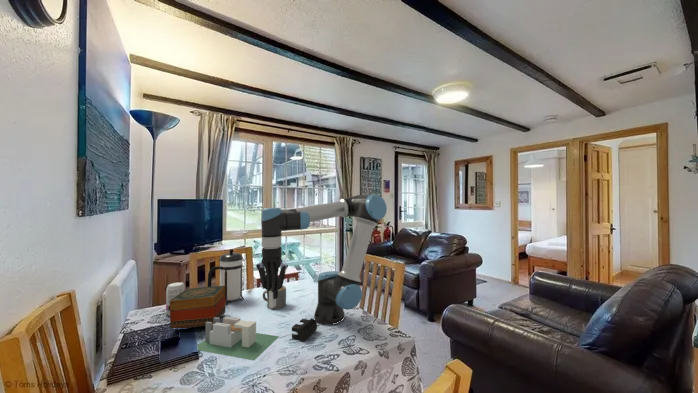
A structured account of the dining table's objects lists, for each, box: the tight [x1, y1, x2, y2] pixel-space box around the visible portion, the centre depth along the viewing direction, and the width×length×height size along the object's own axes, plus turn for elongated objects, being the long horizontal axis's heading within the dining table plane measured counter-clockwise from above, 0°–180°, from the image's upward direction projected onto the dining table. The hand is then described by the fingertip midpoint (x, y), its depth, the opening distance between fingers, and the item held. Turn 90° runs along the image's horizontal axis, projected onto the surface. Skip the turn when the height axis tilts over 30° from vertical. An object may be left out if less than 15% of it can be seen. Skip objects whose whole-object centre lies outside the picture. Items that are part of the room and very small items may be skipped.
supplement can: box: [165, 281, 186, 317], centre depth 143 cm, size 8×8×15 cm
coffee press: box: [207, 248, 245, 306], centre depth 160 cm, size 17×16×30 cm
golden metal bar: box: [212, 322, 242, 331], centre depth 113 cm, size 17×3×1 cm, turn 75°
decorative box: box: [169, 285, 227, 329], centre depth 132 cm, size 20×22×16 cm
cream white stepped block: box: [234, 319, 257, 348], centre depth 111 cm, size 7×5×8 cm
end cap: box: [291, 318, 318, 343], centre depth 118 cm, size 10×7×7 cm
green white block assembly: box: [196, 316, 280, 361], centre depth 112 cm, size 28×18×9 cm, turn 75°
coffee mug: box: [262, 285, 287, 311], centre depth 154 cm, size 13×10×10 cm
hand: (272, 306), depth 108 cm, fingers closed
